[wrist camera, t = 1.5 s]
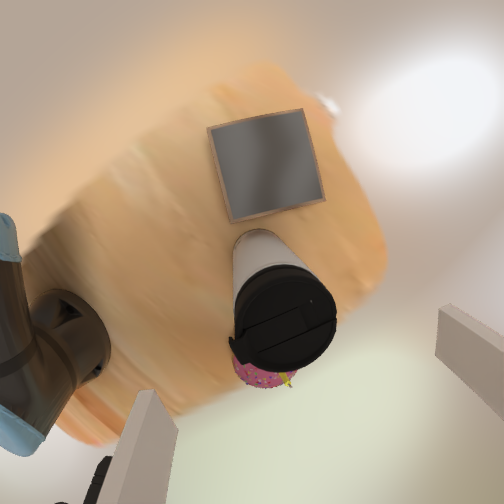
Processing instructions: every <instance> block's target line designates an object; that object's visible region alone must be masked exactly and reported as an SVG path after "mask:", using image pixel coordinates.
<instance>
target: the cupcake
mask: <svg viewBox="0 0 504 504" xmlns="http://www.w3.org/2000/svg"><path fill="white" fill-rule="evenodd" d="M232 362H233V366H234V369H235V371H236V373H237V375H238V376H239V377H240V379H242V380H243V381H245V382H246V384H247V385H248V384H249V385H252V386H255V387H256V388H257V387H258V388H273V387H277V386H279V385H282V384H283V383H284V384H285V386H289V387H290V388H292V386H291V382H290V380H291V377H292V376H294V375H295V373H296V372H297V370H295V371H291V372H285V373H274V372H267V371H264V370H261V369H258V368H257V367H255V366H253V365H252V364H250V363H248V364H245V365H241V364H240V363H239V361H238V360H237V358H236V357H235V355H234V353H233V355H232Z"/></svg>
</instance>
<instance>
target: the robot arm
mask: <svg viewBox="0 0 504 504" xmlns="http://www.w3.org/2000/svg"><path fill="white" fill-rule="evenodd" d="M20 262H22V257H21V256H20V255H19V248H18V241H17V233H16V227H15V223H14V222H13V220H12V219H11V217H10V216H8V215H6V214H4V213H0V446H1V447H3V448H4V449H6V450H7V451H9V452H11V453H13V454H15V455H18V456H23V457H26V456H30V455H32V454H33V453H34V452H35V451H36V450H37V448H38V447H39V445H40V444H41V443H42V442H44V441H45V439H46V436H47V435H48V433H49V431H50V429H51V428H52V426H53V425H54V423H55V421H56V420H57V418H58V416H59V415H60V413H61V412H62V410H63V408H64V407H65V405H66V404H67V402H68V400H69V399H70V397H71V396H72V394H73V393H74V391H75V390H76V389H78V388H80V387H82V386H83V385H85V384H87V383H89V382H90V381H92V380H94V379H96V378H97V377H98V376H99V375H100V374H101V373H102V371H103V370H104V368H105V367H106V365H107V363H108V361H109V358H110V342H109V337H108V334H107V331H106V329H105V327H104V325H103V323H102V321H101V320H100V318H99V317H98V315H97V314H96V313H95V311H94V310H93V309H92V308H91V307H90V306H89V305H88V304H87V303H86V302H85V301H84V300H82V299H81V298H80V297H78V296H77V295H75V294H73V293H71V292H68V291H65V290H61V289H53V290H49V291H46V292H45V293H43V294H41V295H40V296H38V297H37V298H36V299H35V300H34V301H33V302H32V303H31V305H30V307H29V308H28V303H27V299H26V293H25V288H24V282H23V276H22V270H21V263H20ZM437 331H438V332H437V341H436V351H435V356H436V357H437V358H438V359H440V360H441V361H442V362H443V363H444V364H445V365H446V366H447V367H448V368H449V369H451V371H453V372H454V373H455V374H456V375H457V376H458V377H459V378H460V379H461V380H462V381H463V382H465V384H466V385H468V386H469V387H470V388H471V389H472V390H473V391H474V392H475V393H476V394H477V395H478V396H479V397H480V398H481V399H482V400H483V401H484V402H485V403H486V404H487V405H488V406H490V408H491V409H492V410H493V411H494V412H495V413H497V414H498V416H499V417H500V418H501V419H502V420H503V421H504V337H503V336H502V335H500V334H499V333H497V332H495V331H494V330H492V329H491V328H489V327H488V326H486V325H485V324H483V323H481V322H480V321H478V320H476V319H475V318H473V317H472V316H470V315H469V314H467V313H465V312H463V311H462V310H460V309H459V308H457V307H455V306H454V305H452V304H448V305H446V306H443V307H441V308H439V316H438V330H437ZM177 433H178V428H177V427H176V425H175V424H174V422H173V420H172V419H171V417H170V415H169V414H168V412H167V410H166V409H165V407H164V405H163V404H162V402H161V400H160V398H159V397H158V395H157V393H156V391H155V389H150V390H139V392H138V395H137V397H136V400H135V402H134V404H133V407H132V409H131V412H130V414H129V417H128V419H127V422H126V424H125V427H124V429H123V432H122V434H121V437H120V439H119V442H118V445H117V447H116V450H115V452H114V455H113V456H105V457H104V458H103V460H102V461H101V462H100V463H99V464H98V466H97V469H96V471H95V474H94V475H95V476H94V477H93V479H92V481H91V482H92V484H91V485H90V487H89V489H88V492H87V495H86V497H85V500H84V503H83V504H165V502H166V496H167V490H168V484H169V477H170V472H171V466H172V461H173V455H174V450H175V444H176V439H177ZM55 504H68V503H64V502H58V503H55Z"/></svg>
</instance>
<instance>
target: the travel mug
mask: <svg viewBox="0 0 504 504" xmlns="http://www.w3.org/2000/svg"><path fill="white" fill-rule="evenodd" d="M233 312H234V321H235V340H233V339H232V337H229V344H230V347H231V349H232V351H233V353H234V355H235V357H236V358H237V360H238V361H239V363H240V364H241V365H245V364H248V363H250V364H252V365H253V366H255V367H257V368H258V369H261V370H264V371H267V372H274V373H285V372H291V371H295V370H298V369H300V368H303V367H305V366H307V365H309V364H310V363H312V362H313V361H314V360H316V359H317V358H318V357H319V356H321V354H322V353H323V352H324V351H325V350H326V349H327V348H328V346H329V345H330V343H331V341H332V339H333V337H334V335H335V332H336V324H337V318H336V314H337V310H336V305H335V302H334V299H333V297H332V295H331V294H330V292H329V291H328V290H327V289H326V287H325V286H324V285H323V284H322V283H321V281H320V280H319V279H318V277H317V276H316V275H315V274H314V273H313V272H312V271H311V270H310V269H309V268H308V267H307V266H306V265H305V264H304V263H303V262H302V261H301V260H300V259H299V258H298V257H297V256H296V255H295V254H294V253H293V252H292V251H291V250H290V249H289V247H288V246H287V245H286V244H285V243H284V242H283V241H282V240H281V239H280V238H279V237H278V236H276V235H275V234H274V233H272V232H271V231H268V230H265V229H253V230H250V231H248V232H246V233H244V234H243V235H242V236H240V238H239V239H238V240H237V242H236V244H235V246H234V249H233Z"/></svg>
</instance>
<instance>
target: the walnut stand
mask: <svg viewBox="0 0 504 504" xmlns="http://www.w3.org/2000/svg"><path fill="white" fill-rule="evenodd" d="M206 129H207V133H208V137H209V141H210V145H211V149H212V153H213V157H214V161H215V165H216V169H217V173H218V177H219V181H220V185H221V189H222V193H223V197H224V201H225V205H226V208H227V212H228V216H229V220H230V224H233V223H237V222H241V221H245V220H249V219H253V218H257V217H261V216H265V215H269V214H273V213H277V212H281V211H285V210H290V209H294V208H298V207H302V206H306V205H311V204H315V203H319V202H324V201H326V198H325V194H324V189H323V185H322V180H321V176H320V172H319V167H318V163H317V159H316V155H315V151H314V147H313V143H312V140H311V136H310V132H309V128H308V125H307V121H306V118H305V114H304V111H303V108H301V109H294V110H288V111H282V112H276V113H271V114H265V115H260V116H255V117H250V118H246V119H241V120H237V121H232V122H228V123H224V124H220V125H216V126H212V127H208V128H206Z"/></svg>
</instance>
